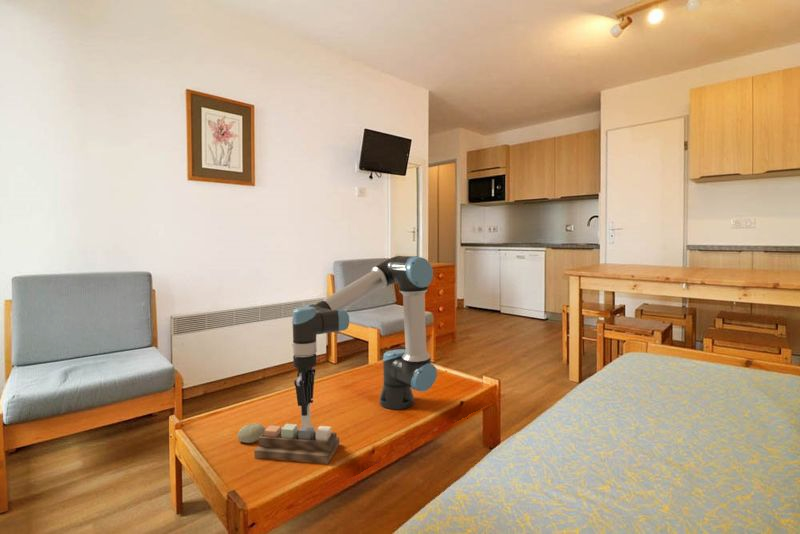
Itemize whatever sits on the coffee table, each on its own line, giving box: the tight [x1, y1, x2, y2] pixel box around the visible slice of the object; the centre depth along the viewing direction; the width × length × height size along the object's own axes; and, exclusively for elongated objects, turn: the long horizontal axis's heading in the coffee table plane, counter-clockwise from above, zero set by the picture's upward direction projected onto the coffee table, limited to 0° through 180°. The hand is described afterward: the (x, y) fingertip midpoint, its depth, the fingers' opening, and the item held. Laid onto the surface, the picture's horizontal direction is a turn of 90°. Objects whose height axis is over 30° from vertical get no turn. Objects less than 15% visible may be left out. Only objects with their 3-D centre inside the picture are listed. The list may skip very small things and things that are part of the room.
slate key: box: [297, 424, 315, 440], centre depth 132 cm, size 4×4×4 cm
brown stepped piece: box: [253, 429, 340, 465], centre depth 132 cm, size 25×12×6 cm, turn 82°
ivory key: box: [315, 425, 332, 441], centre depth 131 cm, size 4×4×4 cm
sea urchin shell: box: [237, 422, 266, 444], centre depth 141 cm, size 9×8×8 cm
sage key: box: [281, 423, 298, 439], centre depth 133 cm, size 4×4×4 cm
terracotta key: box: [264, 424, 282, 438], centre depth 134 cm, size 4×4×4 cm
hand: (305, 423), depth 131 cm, fingers closed
